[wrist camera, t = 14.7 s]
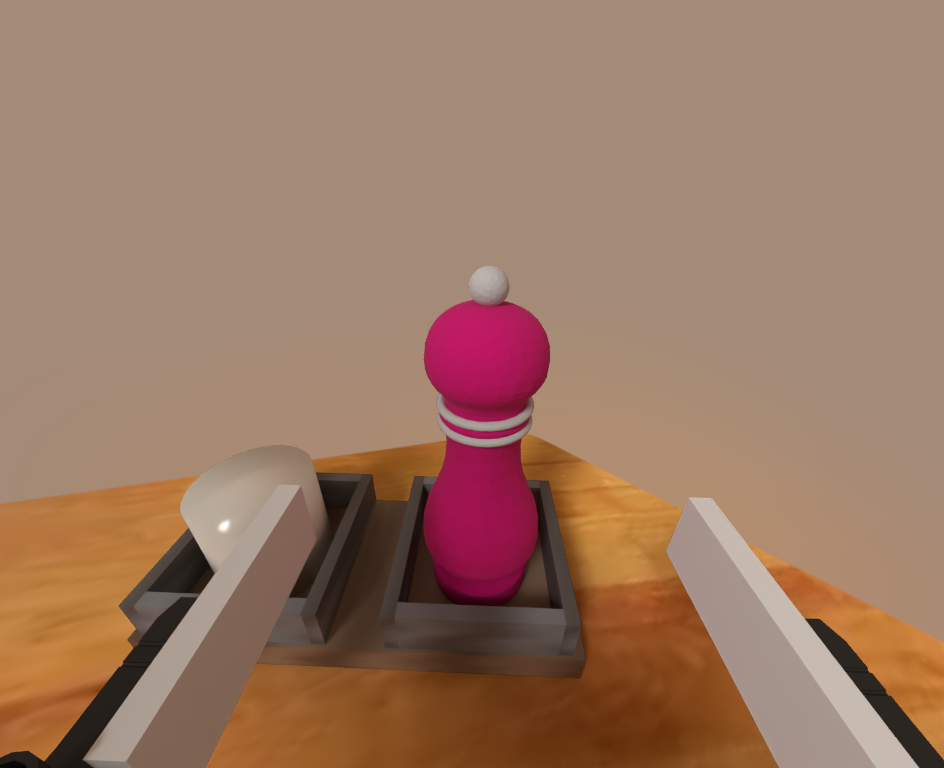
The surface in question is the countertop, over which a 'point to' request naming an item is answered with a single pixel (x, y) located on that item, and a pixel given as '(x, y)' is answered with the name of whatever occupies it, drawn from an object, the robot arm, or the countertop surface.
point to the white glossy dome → (253, 503)
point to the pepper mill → (483, 442)
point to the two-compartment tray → (396, 596)
